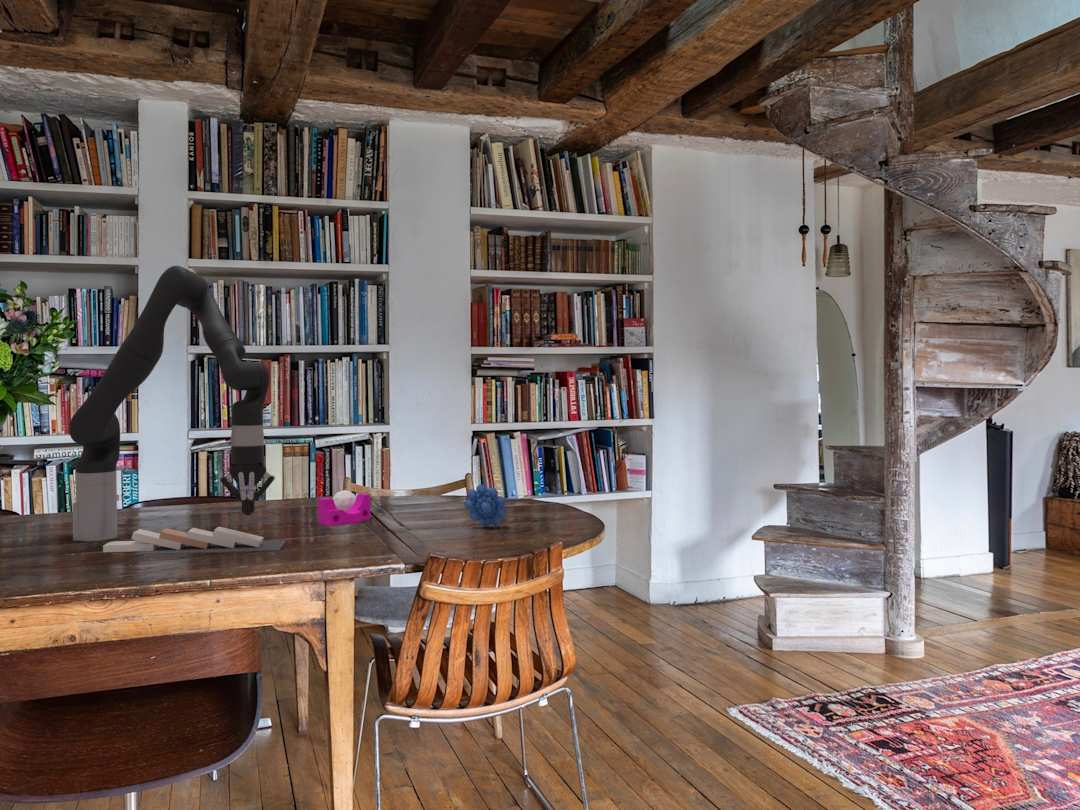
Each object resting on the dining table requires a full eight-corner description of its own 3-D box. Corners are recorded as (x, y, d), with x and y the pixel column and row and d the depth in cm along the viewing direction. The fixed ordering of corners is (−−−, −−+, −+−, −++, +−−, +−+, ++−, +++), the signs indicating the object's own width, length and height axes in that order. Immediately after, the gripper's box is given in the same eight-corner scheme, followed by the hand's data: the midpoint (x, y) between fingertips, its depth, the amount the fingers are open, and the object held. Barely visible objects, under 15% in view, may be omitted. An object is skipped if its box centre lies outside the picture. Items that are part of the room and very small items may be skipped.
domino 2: (179, 549, 195) (131, 539, 193) (184, 545, 200) (137, 535, 198) (181, 543, 195) (133, 532, 193) (186, 539, 200) (139, 528, 198)
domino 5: (258, 547, 198) (212, 536, 196) (262, 543, 203) (216, 532, 201) (260, 541, 198) (214, 529, 196) (263, 537, 203) (218, 526, 201)
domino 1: (153, 550, 194) (103, 552, 192) (159, 546, 199) (110, 548, 197) (153, 544, 194) (103, 545, 192) (159, 540, 199) (110, 541, 197)
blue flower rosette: (465, 530, 224) (465, 486, 223) (464, 526, 230) (464, 483, 230) (507, 529, 225) (507, 485, 225) (505, 525, 232) (505, 483, 231)
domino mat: (135, 555, 190) (135, 554, 190) (150, 545, 202) (150, 544, 202) (279, 551, 195) (279, 549, 195) (285, 541, 207) (285, 540, 207)
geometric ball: (345, 519, 242) (345, 492, 242) (325, 517, 246) (325, 490, 246) (363, 515, 249) (363, 489, 249) (343, 513, 253) (343, 487, 253)
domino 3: (206, 549, 196) (158, 538, 194) (210, 545, 201) (164, 534, 199) (208, 542, 196) (160, 531, 194) (212, 538, 201) (166, 528, 199)
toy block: (330, 527, 229) (329, 500, 229) (318, 524, 234) (318, 498, 234) (375, 521, 240) (375, 495, 240) (363, 518, 245) (362, 493, 244)
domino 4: (233, 548, 197) (186, 537, 195) (237, 544, 202) (191, 533, 200) (234, 541, 197) (188, 531, 195) (238, 538, 202) (193, 527, 200)
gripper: (278, 442, 204) (278, 511, 204) (222, 443, 202) (222, 513, 202) (273, 444, 197) (274, 516, 197) (215, 445, 194) (216, 518, 195)
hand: (248, 514), depth 200 cm, fingers closed
